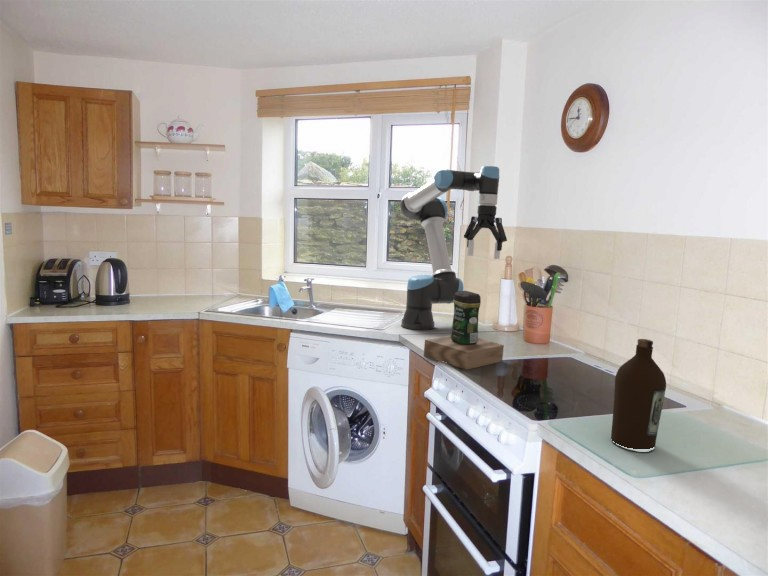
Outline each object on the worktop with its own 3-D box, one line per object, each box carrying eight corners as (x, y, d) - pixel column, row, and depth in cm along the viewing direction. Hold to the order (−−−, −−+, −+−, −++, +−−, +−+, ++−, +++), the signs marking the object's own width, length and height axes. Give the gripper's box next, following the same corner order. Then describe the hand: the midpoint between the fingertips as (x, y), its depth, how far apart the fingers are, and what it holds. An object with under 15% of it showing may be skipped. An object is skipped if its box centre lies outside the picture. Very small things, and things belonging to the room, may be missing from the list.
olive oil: (601, 443, 124) (613, 339, 120) (616, 431, 132) (627, 332, 128) (650, 459, 117) (665, 348, 113) (662, 444, 125) (676, 341, 122)
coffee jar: (447, 339, 193) (450, 289, 191) (464, 338, 197) (468, 289, 195) (463, 346, 185) (467, 293, 182) (481, 344, 189) (485, 293, 186)
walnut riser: (423, 355, 193) (424, 339, 192) (459, 348, 206) (460, 333, 205) (466, 369, 178) (467, 352, 177) (502, 361, 191) (503, 345, 190)
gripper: (457, 203, 222) (454, 254, 225) (507, 205, 204) (502, 260, 207) (469, 204, 227) (465, 254, 230) (518, 206, 209) (513, 260, 212)
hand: (483, 257), depth 219 cm, fingers open, 13 cm apart
